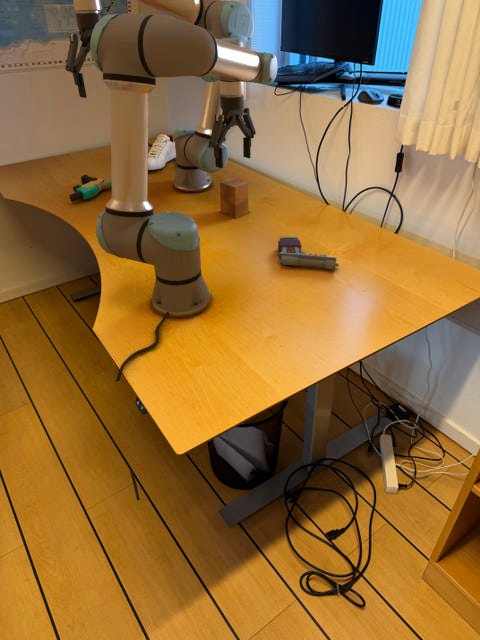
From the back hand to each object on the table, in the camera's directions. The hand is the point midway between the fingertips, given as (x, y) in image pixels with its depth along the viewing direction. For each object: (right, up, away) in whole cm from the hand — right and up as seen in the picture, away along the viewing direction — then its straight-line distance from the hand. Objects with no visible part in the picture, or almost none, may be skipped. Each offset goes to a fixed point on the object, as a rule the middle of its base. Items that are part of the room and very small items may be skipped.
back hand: (102, 93), depth 147 cm
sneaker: (+5, +1, +71) cm, 71 cm away
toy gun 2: (+63, -52, -3) cm, 81 cm away
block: (+41, -31, +26) cm, 57 cm away
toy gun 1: (-18, -19, +43) cm, 51 cm away
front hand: (+40, -16, +16) cm, 46 cm away
